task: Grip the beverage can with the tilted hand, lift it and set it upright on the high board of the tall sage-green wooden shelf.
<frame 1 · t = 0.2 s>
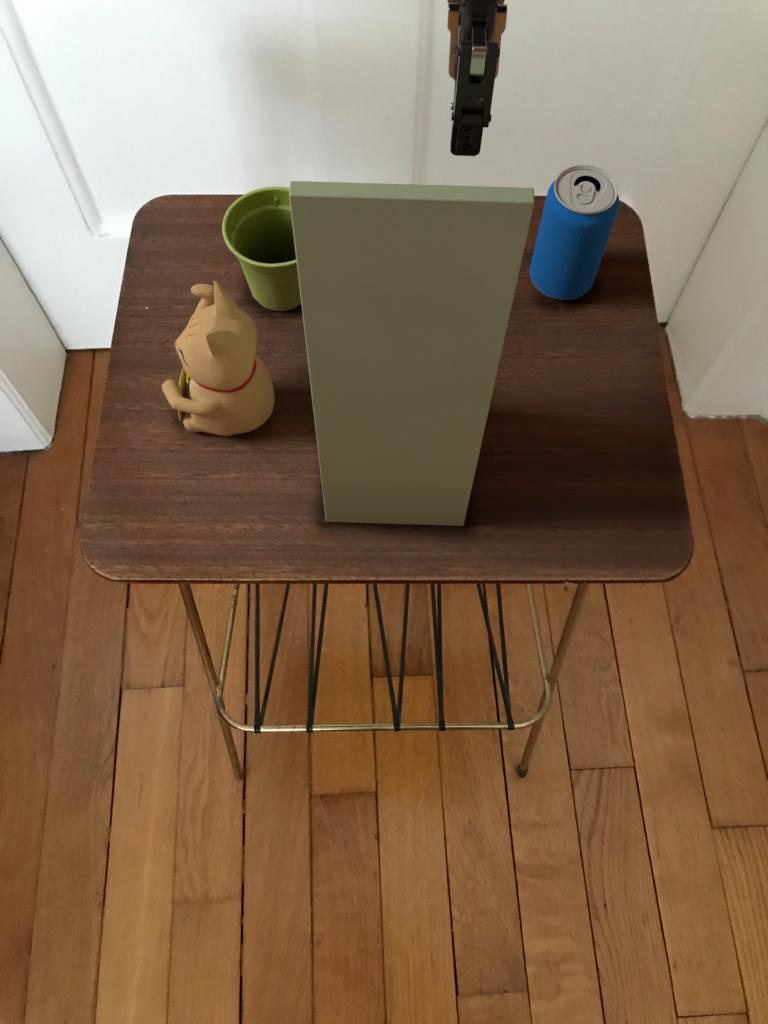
hand: (464, 112, 69), 22 cm above the table, tool pointing down, fingers open, 8 cm apart
plant pot: (282, 289, 89), on the table
shelf: (396, 467, 80), on the table
figurine: (225, 406, 83), on the table
beverage can: (560, 280, 90), on the table
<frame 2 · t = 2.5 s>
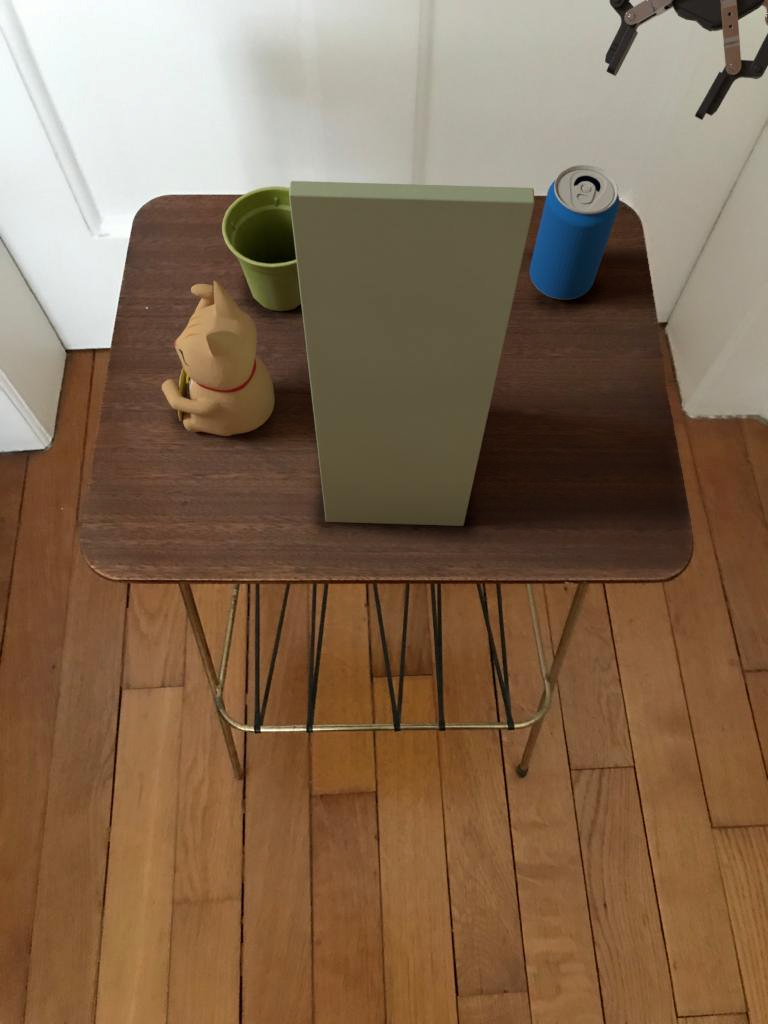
hand: (654, 95, 78), 16 cm above the table, tool tilted 40°, fingers open, 8 cm apart
nothing on the table moved.
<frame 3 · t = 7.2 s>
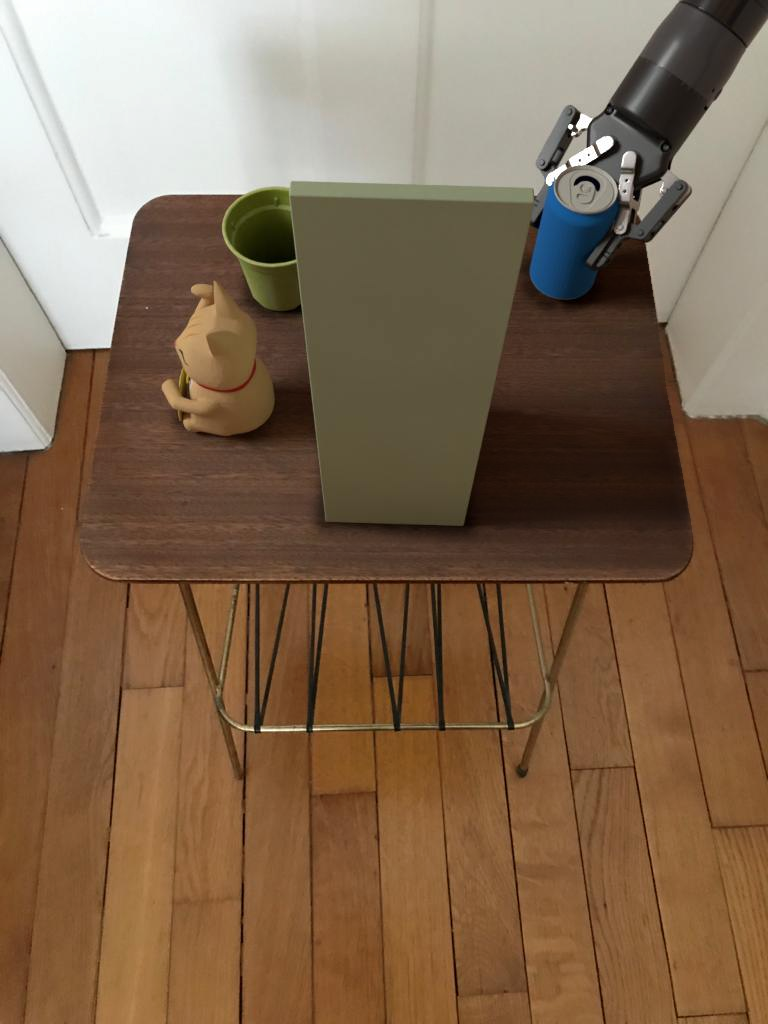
hand: (561, 246, 84), 6 cm above the table, tool tilted 45°, fingers closed on beverage can, 6 cm apart
beverage can: (560, 280, 90), on the table, touching gripper
everything else where it was.
when the fingers open (31 cm above the table, at t = 18.6 s): beverage can stays where it is, resting on shelf.
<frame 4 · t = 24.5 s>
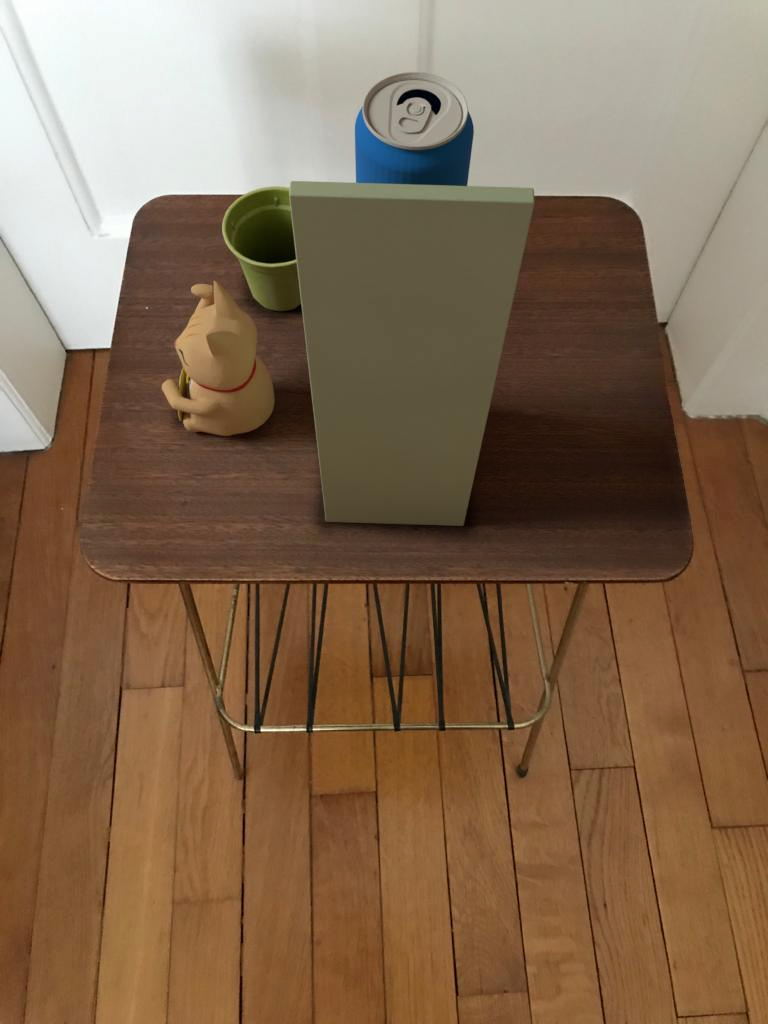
beverage can: (407, 264, 58), point 25 cm above the table, touching shelf
everything else where it was.
at the end: beverage can inside the target area on the shelf (0.1 cm from its centre), point 25.0 cm above the shelf's base; beverage can tilted 0°; the gripper is holding nothing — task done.
